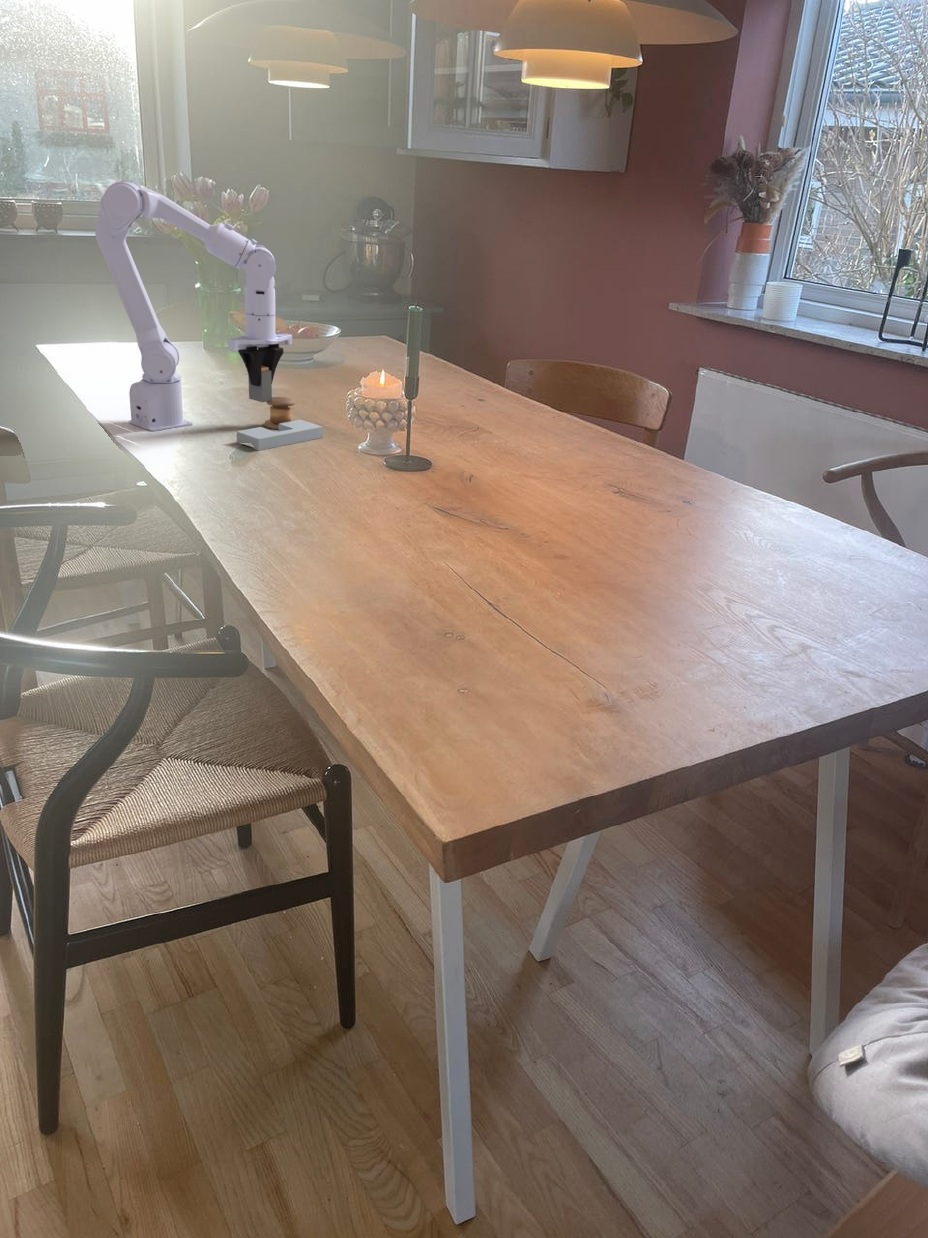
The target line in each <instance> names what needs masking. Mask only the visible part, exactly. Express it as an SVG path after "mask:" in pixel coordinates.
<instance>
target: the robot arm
mask: <svg viewBox="0 0 928 1238" xmlns="http://www.w3.org/2000/svg"><path fill="white" fill-rule="evenodd" d="M98 209H99V210H98V216H97V222H96V229H95V235H94V236H95V241H96V243H97V246H98V248H99V250H100V253H101V255H102V257H103V260H104V263H105V265H106V266H107V267H106V268H107V269H108V271H109V273H110V276H111V279H112V281H113V283H114V286H115V288H116V291H117V292H118V295H119V298H120V300H121V302H122V305H123V307H124V310H125V312H126V314H127V316H128V319H129V321H130V323H131V326H132V328H133V330H134V333H135V335H136V342H137V345H138V346H137V347H138V349H139V352H140V355H141V360H140V361H141V362H140V365H141V369H142V372H143V374H142V376H141V377H142V378H141V380H140V381H137V382H136V381H135V382H134V383H132V384H131V385H130V387H129V392H128V395H129V404H130V405H129V406H130V407H129V408H130V418H131V419H130V420H129V424H131V425H134V426H137V427H140V428H142V429H145V430H146V431H150V432H158V431H163V430H169V429H170V430H171V429H173V428H174V429H176V428H181V427H186V426H192V425H193V422H192V421H190V420H187V419H184V415H183V413H184V412H183V392H182V376H181V375H180V374H179V373H178V372H177V370H176V369H177V366H178V364H179V361H180V353H179V350H178V349H177V347H176V346H175V345H174V344H173V343H172V342H171V341H170V340H169V338H168V337H167V334H166V332H165V330H164V329H163V327H162V326H161V324H160V322H159V319H158V317H157V314H156V312H155V310H154V307H153V304H152V302H151V300H150V298H149V295H148V293H147V290H146V287H145V286H144V283H143V279H142V278H141V276H140V273H139V271H138V270H139V269H138V268H137V266H136V263H135V261H134V258H133V256H132V253H131V250H130V249H129V246H128V244H127V240H126V239H127V237H128V236H129V233H130V231H131V230H132V227H133V225H134V223H135V222H136V220H138V219H139V218H140V217H141V216H142V215H143V219H161V220H164V221H166V222H168V223H169V224H171V225H174V226H175V227H177V228H179V229H181V230H182V231H185V233H188V234H190V235H192V236H193V237H196V238H198V239H199V240H201V241H202V242H203V244H204V248H205V249H206V252H208V253H209V254H211V255H213V256H215V257H217V258H218V259H220V260H221V261H223V262H225V263H227V264H229V265H230V266H232V267H234V268H236V269H237V270H238V269H243V270H244V273H245V274H246V275H245V282H246V283H245V284H246V285H245V288H244V309H245V313H244V314H245V335H242V336H239V337H235V338H234V337H233V338H228V339H227V349H228V351H233V352H237V353H238V354H239V356H240V357H241V359H242V362H243V363H244V365H245V369H246V371H247V374H248V375H249V377H248V380H249V379H250V383H251V385H254V386H260V383H261V366H265V367H269V370H271V380H272V382H274V376H275V372H276V369H277V366H278V364H279V361H280V360H281V358H282V356H283V355H284V348H283V347H280V346H284V345H286V346H292V345H293V334H289V333H276V327H277V326H276V289H275V288H274V287H275V284H276V283H275V282H276V280H275V278H274V276H275V274H276V271H277V266H276V260H275V257H274V255H273V254H272V253H271V251H270V250H269V249H267V248H266V247H265V245H259V244H257V243H258V241H257V240H255V239H254V238H252V239H251V240H250V239H249V238H247V237H245V236H244V235H242V234H241V233H239V232H237V231H236V230H234V228H235V227H234V225H231V224H230V223H226V225H225V224H224V223H222V222H218V223H215V224H209V223H208V222H206V221H205V220H203V219H202V218H200V217H198V216H196V215H195V214H193V213H192V212H191V211H188V209H186V208H184V207H182V206H180V205H179V204H177V203H176V202H174V201H173V200H172V199H170V198H168V197H166V196H165V195H163V194H161V193H159V192H157V191H154V190H152V189H151V188H147V187H146V186H143V187H142V186H141V185H140V184H138V183H137V182H135V181H133V180H128V179H124V180H119V181H117V182H114V183H111V184H110V185H109V186H108V187H107V188H106V190H105V192H104V193H103V195H102V196H101V198H100V200H99V208H98ZM248 375H247V376H248Z"/></svg>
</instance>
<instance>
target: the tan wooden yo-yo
mask: <svg viewBox="0 0 928 1238" xmlns="http://www.w3.org/2000/svg"><path fill="white" fill-rule="evenodd" d="M295 402H296V401H295V399H294V398H290V397H286V396H285V397H284V396H272V401H268V402H266V404H267V405H269V411H270V412H269V417H270V418H269V419H266V420H265V421H264V426H265V427H266V429H271V430H278V431H279V424H280V423H285V422H291V421H294V420H293V419H292V407H291V406H294V405H295V404H296V403H295Z"/></svg>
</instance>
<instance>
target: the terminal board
mask: <svg viewBox="0 0 928 1238" xmlns="http://www.w3.org/2000/svg"><path fill="white" fill-rule="evenodd" d="M323 430H324V427H323V426H321V425H318V424H316V423H312V422H309V421H306V420H303V419H297V420H293V421H291V422H285V423H280V424H279V430H278V431H273V430H272V429H271V430H270V429H269V428H265V427H261V426H258V427H253V428H247V429H242V430H237V431H236V444H239V445H242V444H241V443H251V444H252V445H253V446H254V449H253V450H256V451H258V452H260V451H264V450H268V449H269V450H270V449H274V448H279V447H284V446H289V445H293V444H294V445H295V444H299V443H303V442H308V441H313V440H319V439H322V438H323V437H324V436H323V434H324V433H323Z"/></svg>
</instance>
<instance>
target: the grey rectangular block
mask: <svg viewBox="0 0 928 1238" xmlns="http://www.w3.org/2000/svg"><path fill="white" fill-rule="evenodd" d="M247 376H248V399H249V400H252V401H256V402H259V403H267V402H268V401H272V397H273V393H272V392H273V390H272V389H273V388H272V387H273V386H272V384H273V381H272V380H271V370H269V367H265V366H261V383H260V386H254V385H251V383H250V379H249V375H247Z"/></svg>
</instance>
